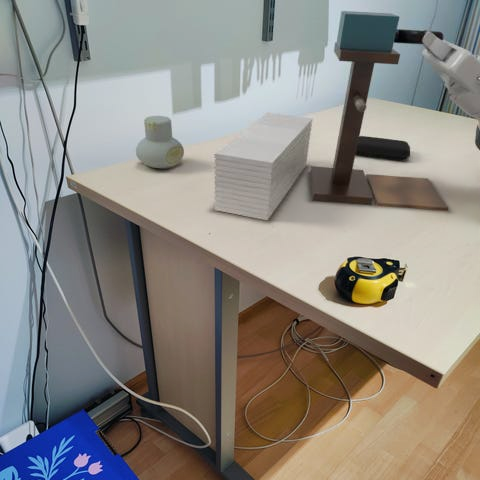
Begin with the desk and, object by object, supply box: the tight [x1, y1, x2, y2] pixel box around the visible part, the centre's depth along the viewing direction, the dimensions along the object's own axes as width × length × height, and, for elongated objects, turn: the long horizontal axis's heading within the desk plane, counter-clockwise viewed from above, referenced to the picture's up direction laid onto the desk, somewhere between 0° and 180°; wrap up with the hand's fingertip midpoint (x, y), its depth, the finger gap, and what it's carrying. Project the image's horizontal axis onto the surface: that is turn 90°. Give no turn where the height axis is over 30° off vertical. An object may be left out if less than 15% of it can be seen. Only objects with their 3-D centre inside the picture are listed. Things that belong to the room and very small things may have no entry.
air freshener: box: [135, 115, 185, 169], centre depth 96 cm, size 11×8×10 cm
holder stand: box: [309, 41, 401, 206], centre depth 84 cm, size 12×18×26 cm, turn 175°
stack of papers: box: [214, 112, 313, 221], centre depth 88 cm, size 32×11×11 cm, turn 160°
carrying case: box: [356, 135, 411, 161], centre depth 111 cm, size 11×3×15 cm
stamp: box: [336, 10, 445, 52], centre depth 74 cm, size 18×7×5 cm, turn 84°
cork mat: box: [365, 173, 448, 212], centre depth 92 cm, size 14×16×1 cm
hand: (422, 34), depth 74 cm, fingers closed on stamp
